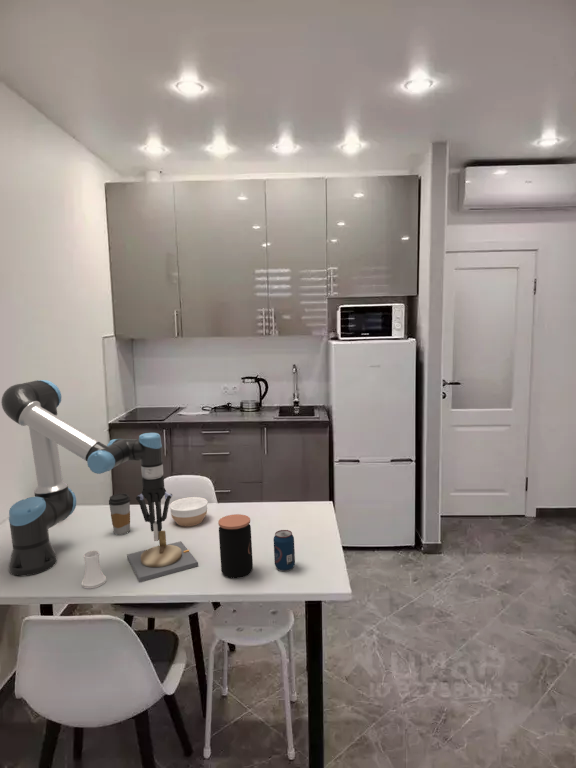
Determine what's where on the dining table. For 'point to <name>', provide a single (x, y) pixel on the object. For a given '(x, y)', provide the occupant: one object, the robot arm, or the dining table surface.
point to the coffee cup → (120, 513)
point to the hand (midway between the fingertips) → (157, 539)
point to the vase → (92, 571)
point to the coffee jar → (235, 546)
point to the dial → (161, 553)
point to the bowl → (189, 510)
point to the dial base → (154, 572)
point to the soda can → (284, 550)
